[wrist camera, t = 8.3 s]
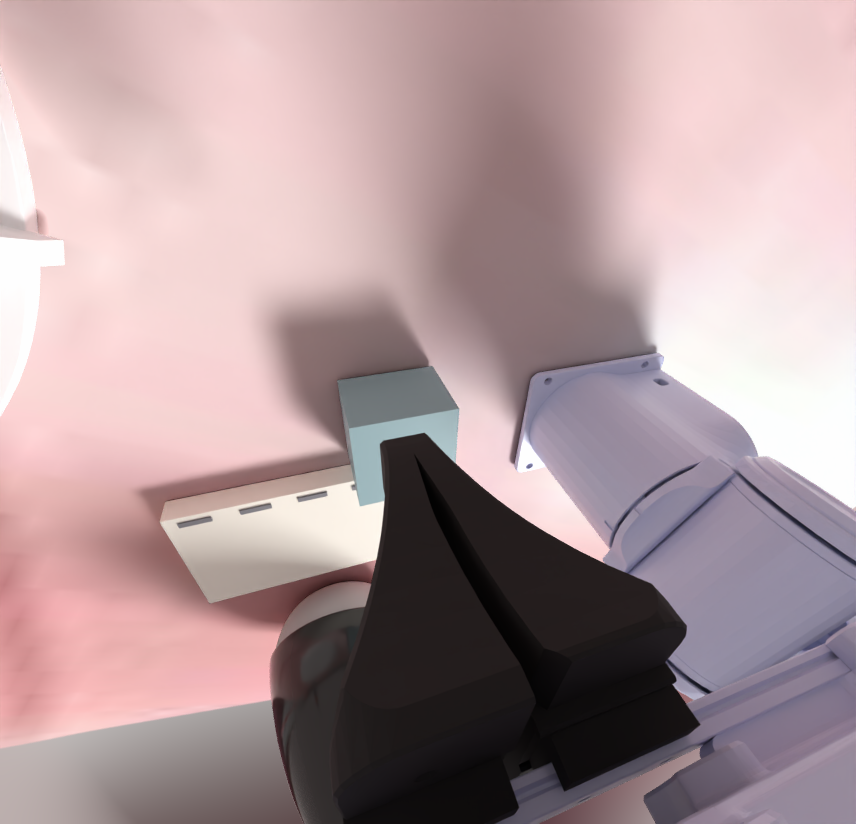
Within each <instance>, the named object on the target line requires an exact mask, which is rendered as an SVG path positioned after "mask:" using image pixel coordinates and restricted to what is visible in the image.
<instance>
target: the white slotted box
mask: <svg viewBox="0 0 856 824" xmlns="http://www.w3.org/2000/svg"><path fill="white" fill-rule="evenodd" d="M383 511H384V501H382V502H378V503H373V504H369V505H364V506H360V505H359V500H358V496H357V491H356V487H355V482H354V478H353V473H352V469H351V464H350V465H345V466H340V467H335V468H330V469H325V470H320V471H315V472H310V473H305V474H300V475H295V476H290V477H285V478H280V479H275V480H270V481H265V482H260V483H256V484H251V485H246V486H241V487H236V488H231V489H226V490H221V491H216V492H211V493H206V494H201V495H196V496H191V497H186V498H181V499H176V500H171V501H166V502H165V505H164V508H163V512H162V515H161V519H160V524H161V525H162V527H163V529H164V530H165V532H166V533H167V535H168V537H169V538H170V540H171V542H172V543H173V545H174V546H175V548H176V550H177V551H178V553H179V555H180V556H181V558H182V559H183V561H184V563H185V564H186V566H187V568H188V569H189V571H190V572H191V574H192V576H193V577H194V579H195V581H196V582H197V584H198V585H199V587H200V589H201V590H202V592H203V594H204V595H205V597H206V598H207V600H208V602H209V603H214V602H218V601H222V600H225V599H229V598H233V597H237V596H240V595H244V594H248V593H252V592H256V591H259V590H263V589H267V588H271V587H275V586H278V585H282V584H286V583H290V582H294V581H297V580H301V579H305V578H309V577H312V576H316V575H320V574H324V573H328V572H331V571H335V570H339V569H343V568H347V567H350V566H354V565H358V564H362V563H366V562H369V561H373V560H376V559H377V554H378V548H379V543H380V536H381V529H382V521H383Z"/></svg>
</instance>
